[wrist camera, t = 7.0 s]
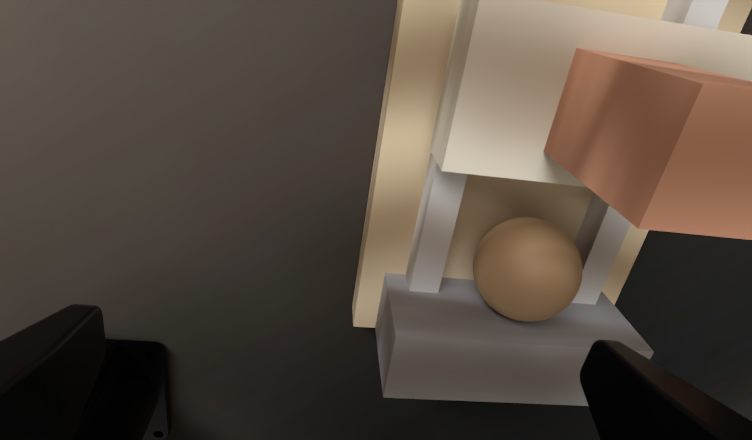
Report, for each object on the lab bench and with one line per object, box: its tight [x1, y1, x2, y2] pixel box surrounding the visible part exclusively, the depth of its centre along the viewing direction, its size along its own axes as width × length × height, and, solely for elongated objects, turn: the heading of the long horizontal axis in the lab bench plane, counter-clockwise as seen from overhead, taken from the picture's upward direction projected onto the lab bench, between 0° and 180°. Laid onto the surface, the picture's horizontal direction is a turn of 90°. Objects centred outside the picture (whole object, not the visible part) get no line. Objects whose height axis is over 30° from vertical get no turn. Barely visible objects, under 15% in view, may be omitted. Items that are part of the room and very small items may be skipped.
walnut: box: [473, 217, 583, 322], centre depth 18 cm, size 4×4×4 cm
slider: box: [430, 0, 752, 240], centre depth 12 cm, size 5×9×7 cm, turn 82°
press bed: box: [352, 0, 752, 406], centre depth 16 cm, size 22×12×6 cm, turn 172°
